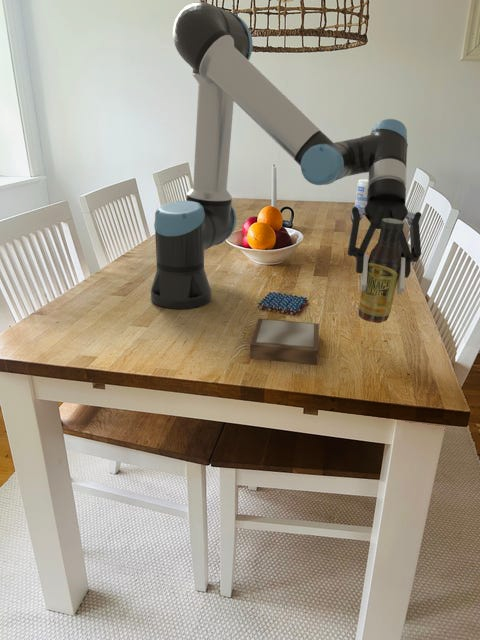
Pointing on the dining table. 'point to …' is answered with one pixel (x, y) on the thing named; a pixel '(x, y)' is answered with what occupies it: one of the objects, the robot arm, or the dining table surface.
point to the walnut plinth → (285, 341)
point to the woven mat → (283, 303)
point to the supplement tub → (361, 194)
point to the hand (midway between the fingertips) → (381, 289)
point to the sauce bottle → (382, 273)
